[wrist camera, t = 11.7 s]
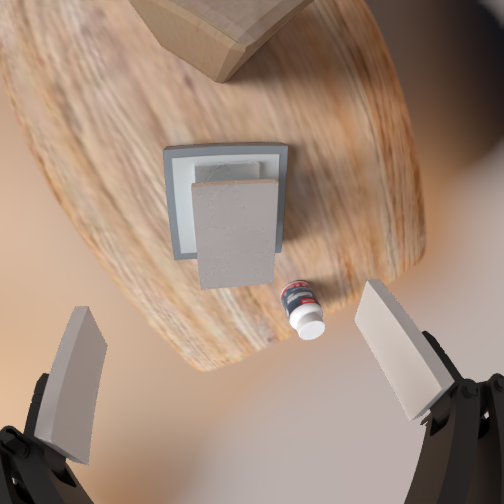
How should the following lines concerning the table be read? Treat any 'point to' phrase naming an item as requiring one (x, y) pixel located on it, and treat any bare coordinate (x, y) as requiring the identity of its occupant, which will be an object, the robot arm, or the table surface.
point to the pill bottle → (303, 310)
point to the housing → (234, 224)
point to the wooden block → (216, 29)
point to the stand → (186, 156)
